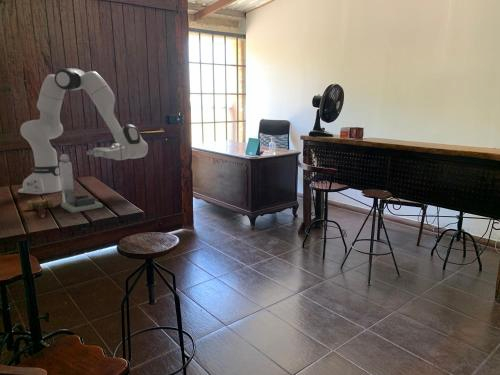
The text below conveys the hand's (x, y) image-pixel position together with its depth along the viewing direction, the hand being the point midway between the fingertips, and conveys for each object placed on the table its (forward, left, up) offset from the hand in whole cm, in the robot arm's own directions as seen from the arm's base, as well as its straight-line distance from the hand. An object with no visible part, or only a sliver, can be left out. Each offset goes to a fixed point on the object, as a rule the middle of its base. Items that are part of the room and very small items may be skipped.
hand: (90, 153), depth 190 cm
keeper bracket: (+2, -15, -23) cm, 28 cm away
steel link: (-8, -9, -23) cm, 26 cm away
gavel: (-11, -26, -24) cm, 37 cm away
